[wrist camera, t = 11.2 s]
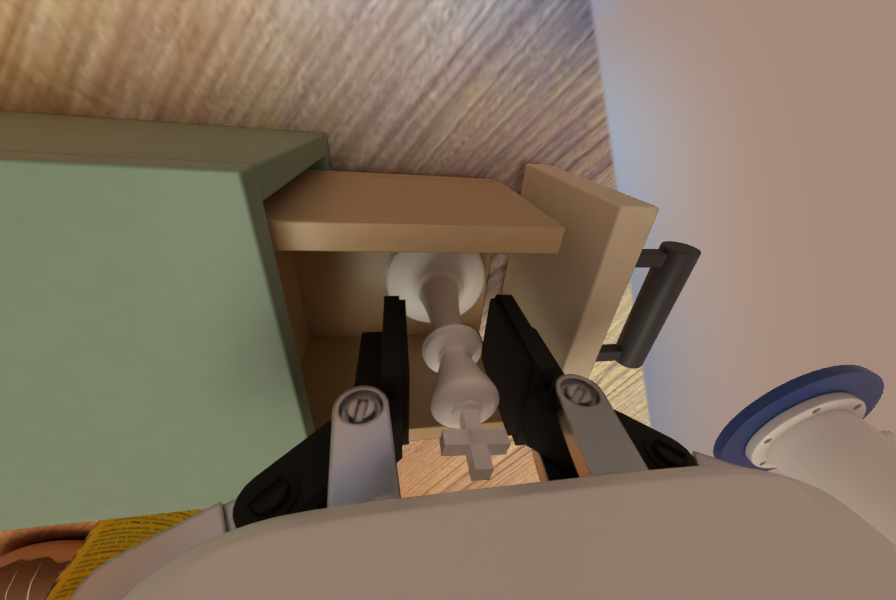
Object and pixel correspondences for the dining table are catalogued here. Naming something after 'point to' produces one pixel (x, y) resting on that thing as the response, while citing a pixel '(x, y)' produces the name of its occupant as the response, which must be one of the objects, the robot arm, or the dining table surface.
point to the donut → (34, 569)
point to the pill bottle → (110, 546)
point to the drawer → (466, 231)
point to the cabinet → (142, 315)
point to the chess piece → (451, 350)
